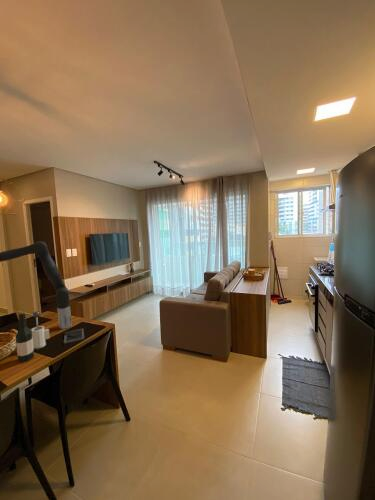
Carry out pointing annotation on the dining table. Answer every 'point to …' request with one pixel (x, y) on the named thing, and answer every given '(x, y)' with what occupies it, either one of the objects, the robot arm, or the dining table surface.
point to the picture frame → (74, 336)
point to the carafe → (39, 337)
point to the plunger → (36, 319)
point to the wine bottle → (24, 341)
